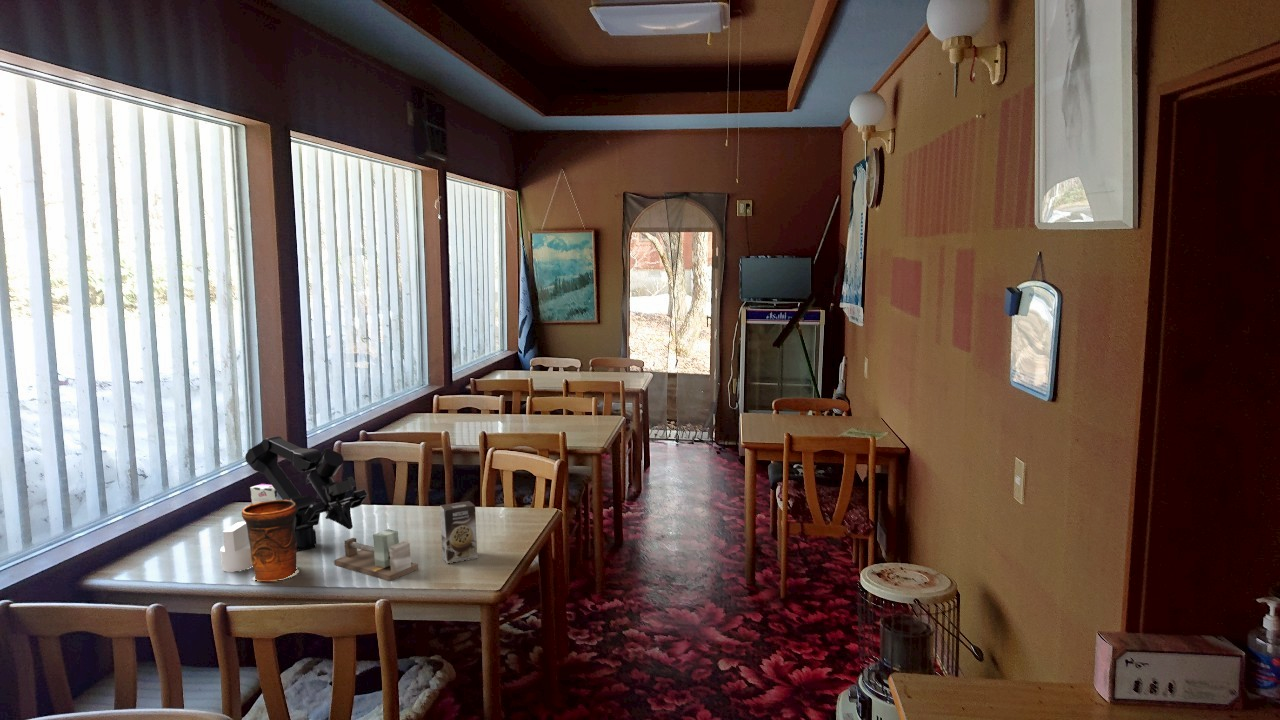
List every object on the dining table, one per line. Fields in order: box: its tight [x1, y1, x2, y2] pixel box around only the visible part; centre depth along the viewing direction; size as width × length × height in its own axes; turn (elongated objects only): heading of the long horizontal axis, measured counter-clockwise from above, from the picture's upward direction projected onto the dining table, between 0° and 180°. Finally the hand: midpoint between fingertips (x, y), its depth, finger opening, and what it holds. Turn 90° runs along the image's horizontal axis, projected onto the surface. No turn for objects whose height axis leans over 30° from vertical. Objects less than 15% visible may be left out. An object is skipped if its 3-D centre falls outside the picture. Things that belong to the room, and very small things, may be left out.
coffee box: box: [439, 500, 478, 564], centre depth 237 cm, size 9×6×16 cm
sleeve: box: [372, 528, 400, 568], centre depth 229 cm, size 4×5×9 cm
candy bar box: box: [249, 483, 283, 505], centre depth 261 cm, size 11×5×16 cm, turn 68°
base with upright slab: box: [219, 521, 253, 573], centre depth 235 cm, size 9×9×12 cm
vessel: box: [241, 500, 298, 582], centre depth 228 cm, size 14×14×20 cm
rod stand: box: [333, 537, 419, 582], centre depth 232 cm, size 24×10×8 cm, turn 57°
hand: (351, 528), depth 237 cm, fingers closed
